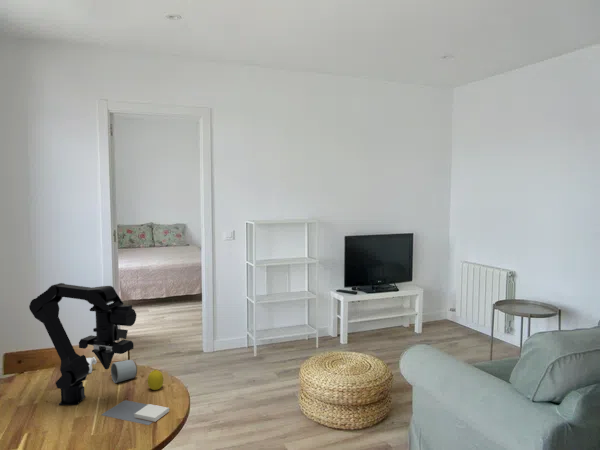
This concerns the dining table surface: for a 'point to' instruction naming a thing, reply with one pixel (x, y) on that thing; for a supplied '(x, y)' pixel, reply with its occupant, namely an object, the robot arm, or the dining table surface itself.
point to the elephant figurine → (91, 362)
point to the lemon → (155, 380)
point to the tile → (151, 412)
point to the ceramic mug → (123, 370)
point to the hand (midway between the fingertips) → (107, 368)
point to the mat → (127, 412)
